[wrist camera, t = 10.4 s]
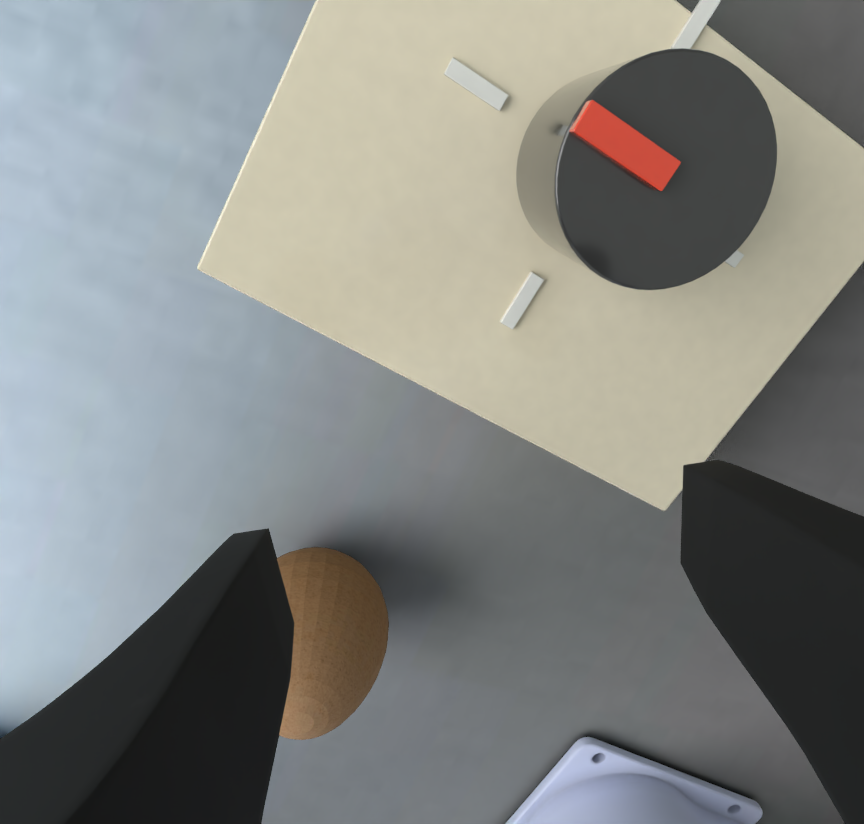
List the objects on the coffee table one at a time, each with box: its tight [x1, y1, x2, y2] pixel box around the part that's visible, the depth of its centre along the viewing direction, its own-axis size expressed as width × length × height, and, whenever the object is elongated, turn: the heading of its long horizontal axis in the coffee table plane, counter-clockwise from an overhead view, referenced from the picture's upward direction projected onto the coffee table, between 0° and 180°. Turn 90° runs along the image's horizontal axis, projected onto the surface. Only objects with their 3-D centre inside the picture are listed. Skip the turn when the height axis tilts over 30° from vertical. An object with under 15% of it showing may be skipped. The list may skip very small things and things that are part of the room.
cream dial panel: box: [197, 0, 864, 511], centre depth 16 cm, size 14×11×3 cm
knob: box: [516, 48, 777, 290], centre depth 13 cm, size 4×4×4 cm
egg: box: [277, 547, 389, 740], centre depth 18 cm, size 4×4×6 cm
